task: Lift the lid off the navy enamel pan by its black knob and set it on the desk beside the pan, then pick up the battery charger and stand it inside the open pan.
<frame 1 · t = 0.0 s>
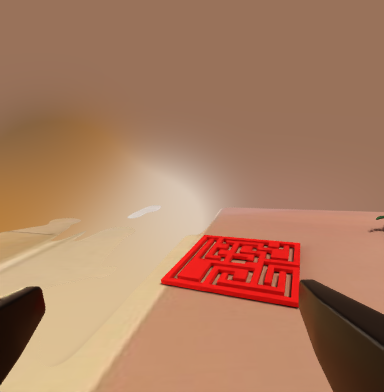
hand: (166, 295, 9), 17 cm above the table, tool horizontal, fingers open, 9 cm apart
maze puzzle: (238, 263, 46), on the table
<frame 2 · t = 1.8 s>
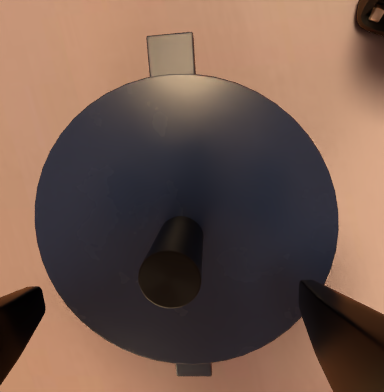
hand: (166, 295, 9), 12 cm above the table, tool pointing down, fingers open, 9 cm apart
pan: (190, 205, 21), on the table
lid: (182, 233, 15), point 6 cm above the table, touching pan
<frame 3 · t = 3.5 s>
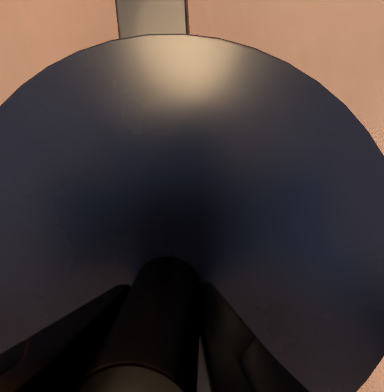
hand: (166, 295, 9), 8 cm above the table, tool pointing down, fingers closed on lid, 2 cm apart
pan: (185, 224, 16), on the table
lid: (170, 279, 10), point 6 cm above the table, touching gripper, pan
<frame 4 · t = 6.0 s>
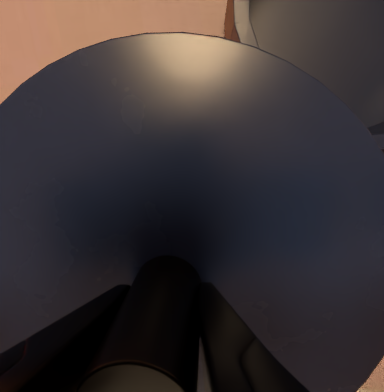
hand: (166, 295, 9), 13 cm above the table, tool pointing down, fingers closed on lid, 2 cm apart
pan: (335, 34, 18), on the table
lid: (170, 278, 10), point 12 cm above the table, touching gripper
when the fingers open (2 cm above the table, at t = 8.9 s): lid stays where it is, point 1 cm above the table.
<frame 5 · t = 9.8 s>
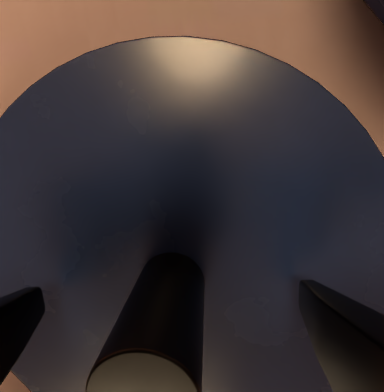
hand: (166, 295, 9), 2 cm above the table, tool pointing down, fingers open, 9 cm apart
lid: (174, 274, 10), point 1 cm above the table
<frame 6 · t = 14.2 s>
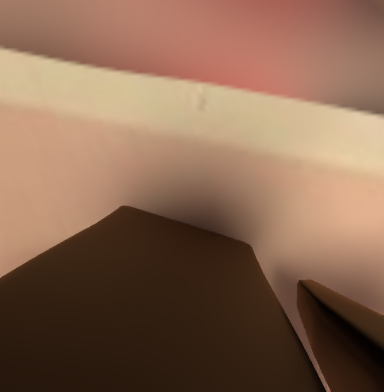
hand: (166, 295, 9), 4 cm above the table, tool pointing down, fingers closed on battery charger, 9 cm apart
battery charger: (177, 255, 13), on the table, touching gripper
when the fingers open (5 cm above the table, at t = 21.4 s): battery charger stays where it is, resting on pan.
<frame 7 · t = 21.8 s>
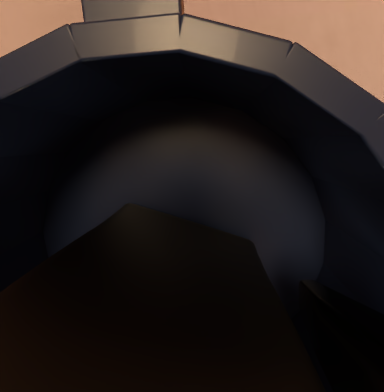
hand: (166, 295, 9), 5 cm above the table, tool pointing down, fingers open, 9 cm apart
pan: (181, 242, 13), on the table
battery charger: (180, 251, 13), resting on pan
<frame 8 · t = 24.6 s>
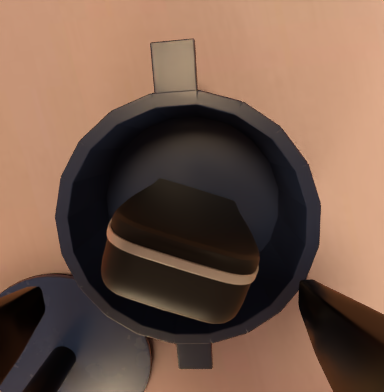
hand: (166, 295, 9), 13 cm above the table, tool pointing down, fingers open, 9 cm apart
pan: (191, 204, 22), on the table
lid: (66, 352, 25), point 1 cm above the table
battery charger: (191, 209, 21), resting on pan
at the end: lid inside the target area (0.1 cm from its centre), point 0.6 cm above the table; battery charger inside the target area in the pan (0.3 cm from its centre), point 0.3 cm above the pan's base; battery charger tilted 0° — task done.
